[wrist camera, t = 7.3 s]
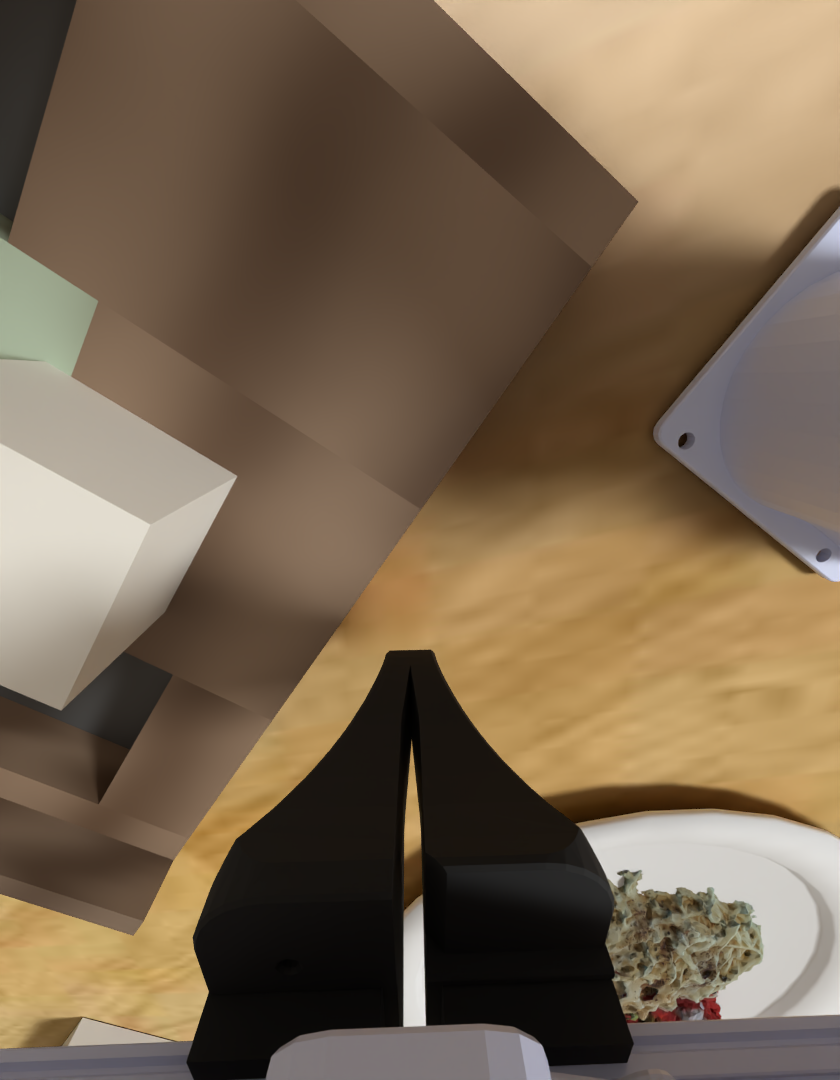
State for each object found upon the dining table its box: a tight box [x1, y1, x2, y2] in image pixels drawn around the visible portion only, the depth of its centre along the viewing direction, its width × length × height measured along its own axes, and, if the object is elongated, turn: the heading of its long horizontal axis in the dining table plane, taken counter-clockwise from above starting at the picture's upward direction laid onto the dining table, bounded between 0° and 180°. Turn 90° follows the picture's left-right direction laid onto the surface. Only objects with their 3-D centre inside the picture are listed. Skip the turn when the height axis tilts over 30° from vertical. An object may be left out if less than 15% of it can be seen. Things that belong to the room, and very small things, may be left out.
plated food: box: [404, 808, 840, 1027], centre depth 23 cm, size 30×30×3 cm
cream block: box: [0, 359, 237, 710], centre depth 9 cm, size 5×5×4 cm
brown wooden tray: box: [0, 0, 638, 935], centre depth 11 cm, size 19×27×4 cm
